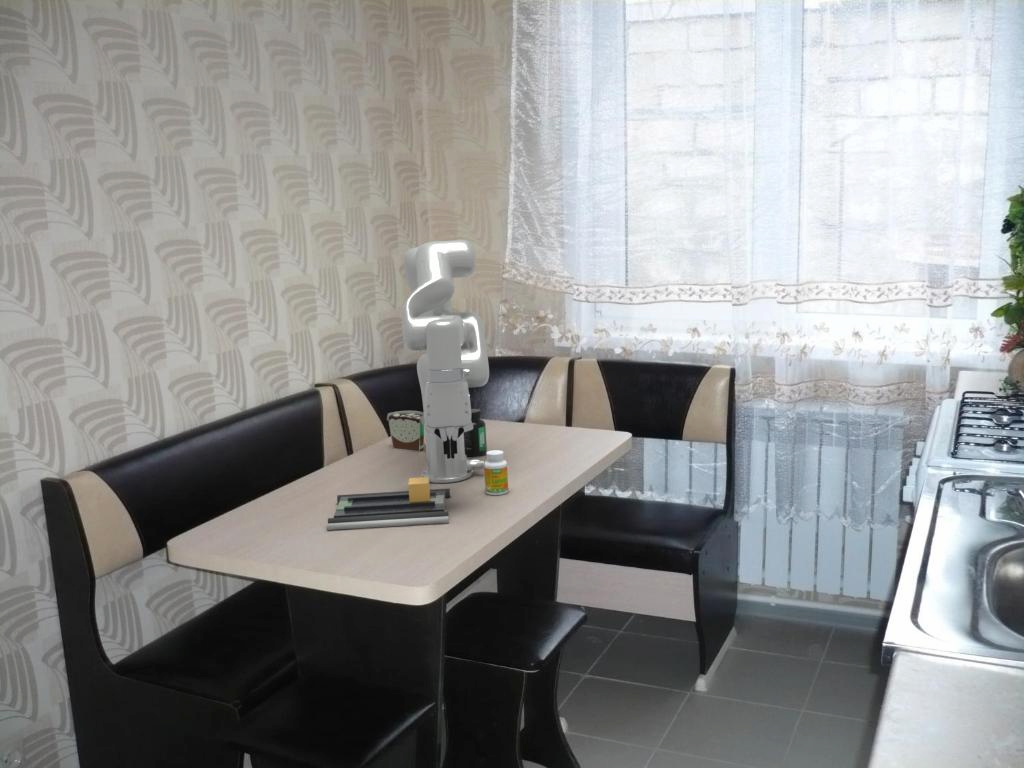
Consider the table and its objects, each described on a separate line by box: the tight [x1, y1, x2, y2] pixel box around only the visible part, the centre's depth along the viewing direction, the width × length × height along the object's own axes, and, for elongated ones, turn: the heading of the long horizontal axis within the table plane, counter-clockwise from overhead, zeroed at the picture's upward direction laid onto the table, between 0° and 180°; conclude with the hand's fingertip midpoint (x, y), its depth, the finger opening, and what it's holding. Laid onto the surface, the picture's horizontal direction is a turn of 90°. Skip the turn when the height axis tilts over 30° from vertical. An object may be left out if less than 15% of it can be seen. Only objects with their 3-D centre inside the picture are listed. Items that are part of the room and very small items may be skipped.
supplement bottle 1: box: [464, 408, 488, 458], centre depth 282 cm, size 7×7×12 cm
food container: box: [386, 410, 425, 453], centre depth 293 cm, size 12×6×10 cm, turn 58°
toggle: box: [407, 476, 431, 502], centre depth 237 cm, size 4×5×4 cm
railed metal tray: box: [333, 491, 447, 518], centre depth 237 cm, size 24×14×3 cm, turn 92°
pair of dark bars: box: [326, 487, 451, 531], centre depth 237 cm, size 26×20×2 cm
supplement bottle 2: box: [483, 449, 509, 496], centre depth 247 cm, size 5×5×10 cm
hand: (450, 457), depth 235 cm, fingers closed
